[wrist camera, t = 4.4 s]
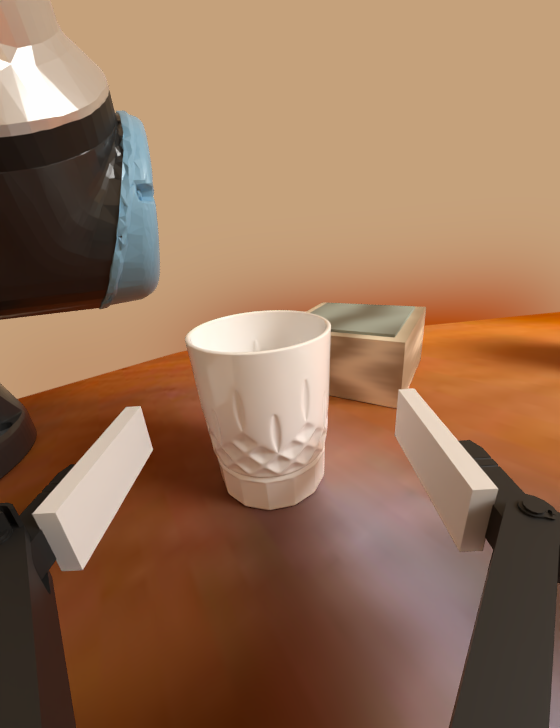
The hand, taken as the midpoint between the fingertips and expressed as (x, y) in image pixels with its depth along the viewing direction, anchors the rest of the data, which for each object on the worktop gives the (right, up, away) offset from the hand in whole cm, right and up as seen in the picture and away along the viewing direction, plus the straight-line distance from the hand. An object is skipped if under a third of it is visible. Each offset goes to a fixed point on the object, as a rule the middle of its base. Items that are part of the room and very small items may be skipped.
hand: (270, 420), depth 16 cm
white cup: (0, -4, +5) cm, 7 cm away
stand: (+8, +2, +18) cm, 20 cm away
